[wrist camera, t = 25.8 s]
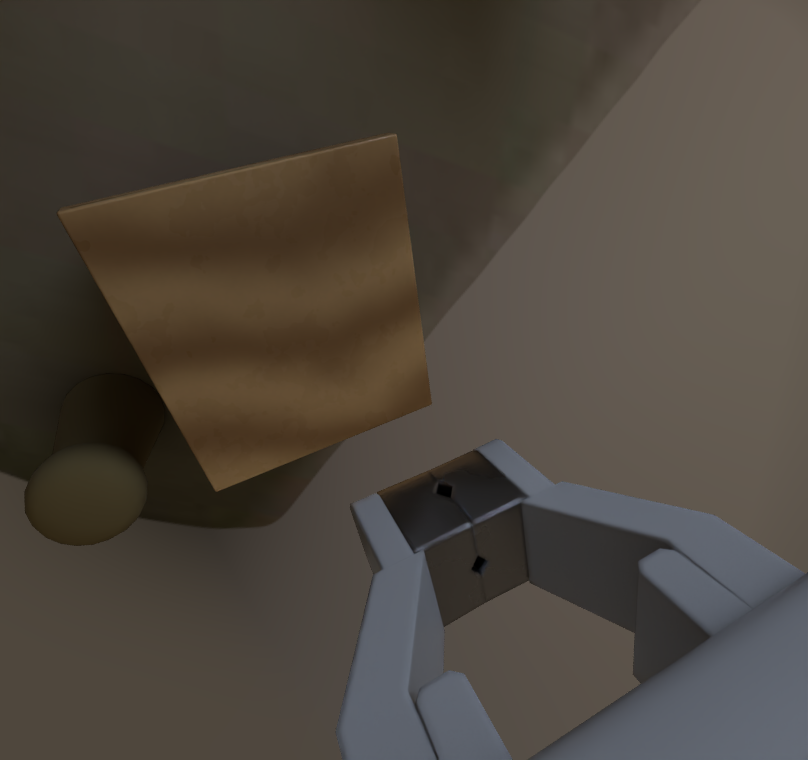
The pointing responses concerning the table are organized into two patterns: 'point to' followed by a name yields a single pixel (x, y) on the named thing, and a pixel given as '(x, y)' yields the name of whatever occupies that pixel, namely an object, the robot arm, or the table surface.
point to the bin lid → (267, 301)
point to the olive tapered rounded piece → (96, 461)
